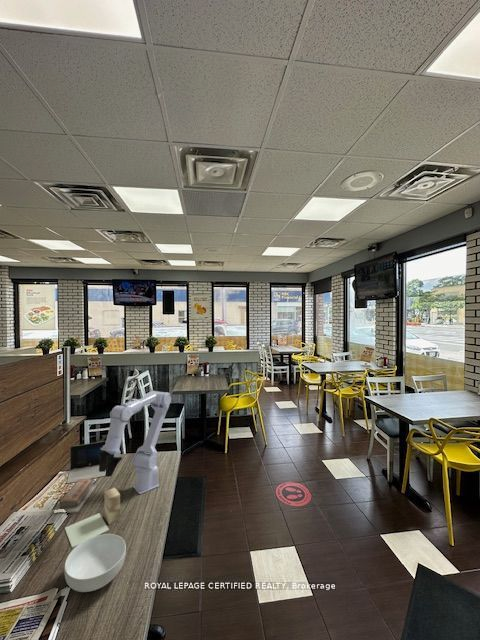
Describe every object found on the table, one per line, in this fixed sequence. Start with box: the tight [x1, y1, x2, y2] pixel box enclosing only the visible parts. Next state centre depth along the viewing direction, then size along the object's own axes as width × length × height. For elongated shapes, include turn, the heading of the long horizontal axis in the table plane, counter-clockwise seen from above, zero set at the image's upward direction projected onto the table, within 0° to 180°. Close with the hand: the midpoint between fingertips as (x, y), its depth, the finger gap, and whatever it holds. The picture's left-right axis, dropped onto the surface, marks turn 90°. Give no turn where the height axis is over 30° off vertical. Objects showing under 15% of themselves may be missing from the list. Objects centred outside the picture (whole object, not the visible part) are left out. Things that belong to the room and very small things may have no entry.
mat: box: [64, 512, 110, 549], centre depth 105 cm, size 12×12×1 cm
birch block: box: [103, 487, 121, 525], centre depth 111 cm, size 4×6×10 cm, turn 42°
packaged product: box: [53, 479, 97, 514], centre depth 123 cm, size 18×5×10 cm
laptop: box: [66, 440, 106, 484], centre depth 143 cm, size 18×12×13 cm
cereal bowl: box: [63, 533, 127, 593], centre depth 86 cm, size 17×17×7 cm
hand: (105, 473), depth 110 cm, fingers open, 7 cm apart
